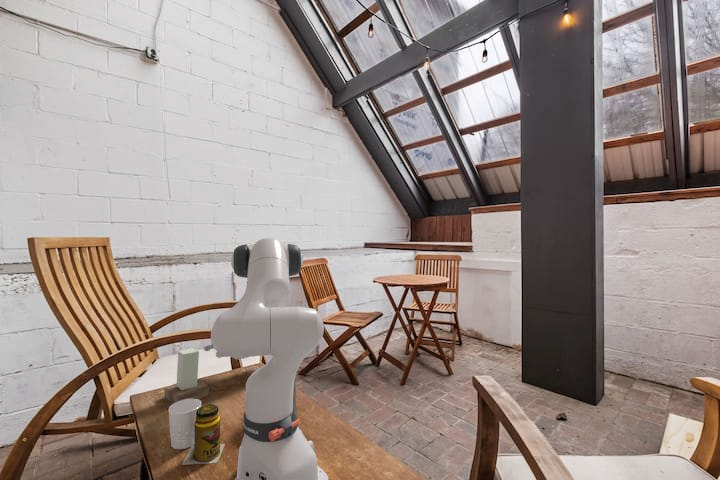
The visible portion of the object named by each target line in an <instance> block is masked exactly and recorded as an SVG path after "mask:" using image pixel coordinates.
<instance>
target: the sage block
mask: <svg viewBox="0 0 720 480" xmlns="http://www.w3.org/2000/svg"><path fill="white" fill-rule="evenodd" d="M199 352H200V351H199V350H197V349H195V348H194V347H192V348H187V349H180V350H178V352H177V368H176V369H177V370H176V371H177V372H176V383H177V387H178V388H179V389H180V390H186V389H190V388H193V387H197V380H199V379H198V377H199V375H198V374H199V358H200V356H199V355H200V353H199Z"/></svg>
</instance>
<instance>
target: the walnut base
mask: <svg viewBox="0 0 720 480" xmlns="http://www.w3.org/2000/svg"><path fill="white" fill-rule="evenodd" d="M209 393H210V391H209V384H208V383H206V382H204V381H201V380H200V379H198V380H197V387H193V388H190V389H186V390H180V389H179V388H178V387H177V382H176V383H174V384H171V385H168V386H165V387H164V398H165V399H166V400H168V401H170V402H171V403H172V404H174V403H176V402H178V401H181V400H184V399H198V400H200V399H203V398H205V397H207V396H209Z"/></svg>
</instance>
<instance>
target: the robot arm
mask: <svg viewBox="0 0 720 480" xmlns="http://www.w3.org/2000/svg"><path fill="white" fill-rule="evenodd" d="M303 256H304V255H303V253H302V251H301V248H300V247H299V246H298V245H297V244H294V243H293V244H291V243H287V244H284V243H281V242H280V241H279V240H277V239H275V238H272V237H265V238H261V239H259V240H257V241H256V242H255V243H254V244H241V245H238V246H236V247H235V248H234V250H233V252H232V254H231V258H230V263H231V268H232V270H233V273H234V274H235V275H236V276H237V277H238V278H245V279H246V286H245V291H244V293H243V295H242V297H241V298H240V299H239V300H238V302H236V303H235V305H233V306H232V307H230V309H227V310H226V311H224V312H222V313H221V314H219V315H218V317H217V318H216V319H215V321H214V322H213V325H212V327H211V331H210V342H209V344H206V345H204V346H203V351H205V352H209V351H211V350H215V351H216V352H215V357H216V358H218V359H220V358H226V357H227V358H228V357H230V358H232V359H235V360H244V359H247V358H250V357H252V358H254V357H261V356H272V357H271V359H270V360H269V361H268V362H267V363H266V364H264V365H262V366H261V367H259V368H256V370H254V371H253V372H252V373H251V374H250V375H249V377H248V379H247V380H246V383H245V386H244V387H245V395H244V398H245V402H244V403H245V407H244V408H245V411H244V413H243V419H242V427H243V433H244V435H243V438H242V440H241V443H240V445H239V449H238V457H237V459H238V460H237V470H236V477H235V478H234V480H329V476H328V474H327V473H326V472H325V471H324V470H323V468H321V467H320V465H318V457H317V454H316V452H315V450H314V449H315V445H314V443H313V441H312V440H307V438H306V437H305V435H304V434H303V431H302V430H301V429H300V427H299V425H300V424H301V422H299V421H301V418H298V417H297V411H296V412H295V409H294V406H293V390H294V380H295V377H296V376H297V373H298V369H299V367H300V365H301V364H302V362H304V359H305V358H307V356H308V355H309V354H310V352H312V351H313V350H314V349H315V348H317V346H318V345H319V344H320V342H321V340H322V339H323V336H324V331H325V330H324V329H325V325H324V320H323V318H322V315H320V313H319V312H318V310H316V309H315V308H311V307H305V306H297V305H296V306H279V305H281V304H282V303H283V302H284V301H285V300H286V298H287V297H288V295H289V294H290V291H291V290H290V289H291V286H290V285H291V284H290V277H293V276H296V275H299V273H300V272H301V270H302V267H303V263H304V257H303Z"/></svg>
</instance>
